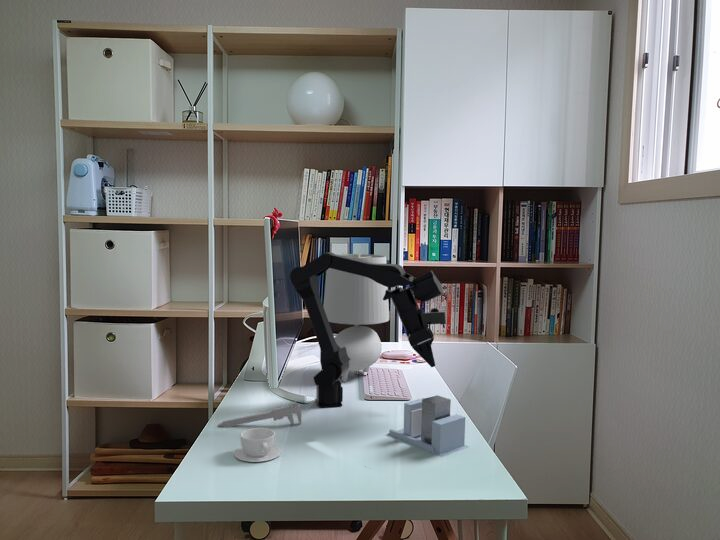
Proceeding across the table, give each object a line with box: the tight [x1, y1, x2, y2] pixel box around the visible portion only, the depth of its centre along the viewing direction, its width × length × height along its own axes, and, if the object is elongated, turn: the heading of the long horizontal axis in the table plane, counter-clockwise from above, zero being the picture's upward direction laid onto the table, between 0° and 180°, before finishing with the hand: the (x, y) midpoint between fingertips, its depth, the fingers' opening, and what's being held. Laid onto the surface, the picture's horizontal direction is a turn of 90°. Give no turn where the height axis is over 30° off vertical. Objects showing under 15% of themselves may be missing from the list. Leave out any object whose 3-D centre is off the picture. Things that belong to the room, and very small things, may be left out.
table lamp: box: [323, 253, 390, 383], centre depth 190 cm, size 23×22×40 cm
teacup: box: [234, 427, 282, 463], centre depth 127 cm, size 10×10×5 cm
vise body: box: [387, 413, 470, 457], centre depth 134 cm, size 17×9×8 cm, turn 40°
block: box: [421, 394, 452, 445], centre depth 132 cm, size 4×5×10 cm
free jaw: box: [403, 397, 425, 438], centre depth 136 cm, size 2×6×8 cm, turn 130°
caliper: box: [217, 400, 302, 428], centre depth 145 cm, size 20×1×6 cm, turn 97°
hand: (432, 364), depth 153 cm, fingers open, 9 cm apart
